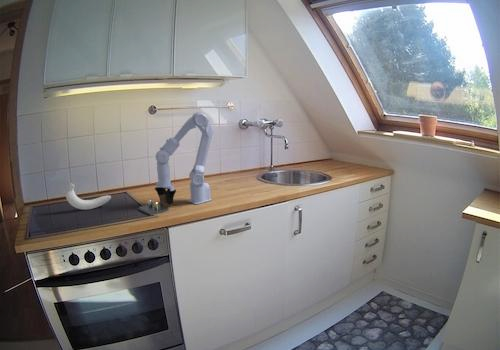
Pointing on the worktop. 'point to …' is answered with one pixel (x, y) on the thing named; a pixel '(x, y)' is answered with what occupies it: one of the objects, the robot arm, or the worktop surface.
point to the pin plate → (153, 208)
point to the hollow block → (164, 201)
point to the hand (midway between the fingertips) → (166, 202)
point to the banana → (85, 204)
